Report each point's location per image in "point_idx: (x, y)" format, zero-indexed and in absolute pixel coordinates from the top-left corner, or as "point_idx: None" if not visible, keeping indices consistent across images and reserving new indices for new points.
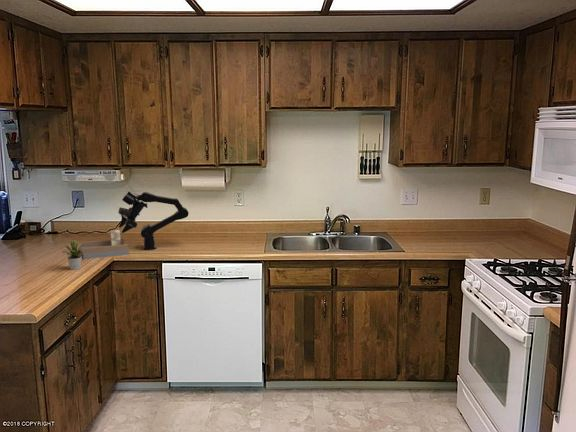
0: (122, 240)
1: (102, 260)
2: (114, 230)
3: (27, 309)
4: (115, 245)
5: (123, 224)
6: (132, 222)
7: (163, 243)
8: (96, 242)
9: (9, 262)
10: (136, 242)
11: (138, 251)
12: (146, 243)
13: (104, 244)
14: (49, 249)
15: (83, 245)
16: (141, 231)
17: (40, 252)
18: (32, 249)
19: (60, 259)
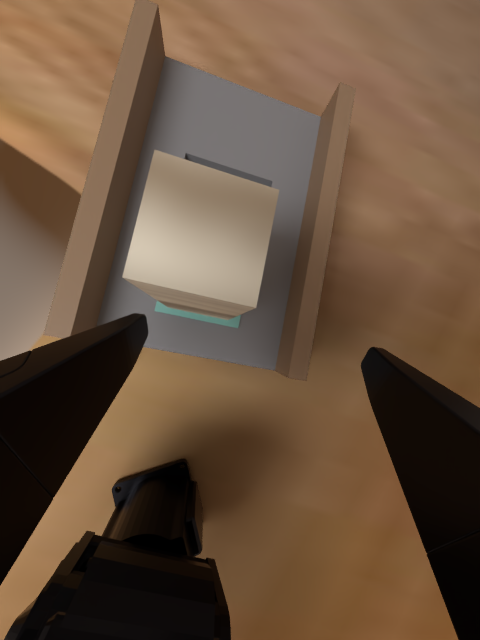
0: (286, 362)
1: (44, 148)
2: (243, 235)
3: None
4: (89, 231)
5: (395, 441)
6: None
7: (251, 633)
8: (319, 182)
9: None
10: (365, 473)
11: (133, 414)
12: (127, 516)
13: (300, 241)
14: (437, 61)
15: (325, 116)
16: (53, 622)
17: (404, 9)
18: (470, 13)
19: (220, 3)
